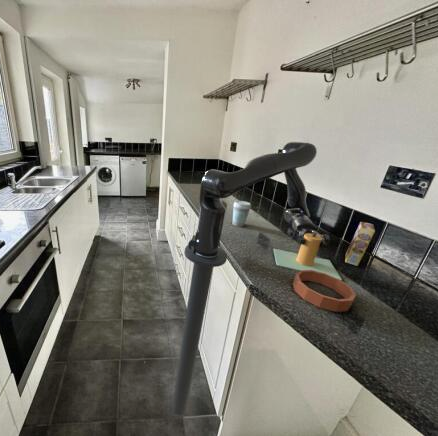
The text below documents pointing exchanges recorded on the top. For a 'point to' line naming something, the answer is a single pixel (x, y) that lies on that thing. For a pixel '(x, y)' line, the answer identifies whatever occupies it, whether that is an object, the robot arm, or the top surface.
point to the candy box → (359, 243)
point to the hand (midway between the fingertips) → (313, 244)
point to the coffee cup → (240, 212)
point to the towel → (290, 262)
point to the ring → (318, 298)
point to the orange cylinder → (309, 249)
